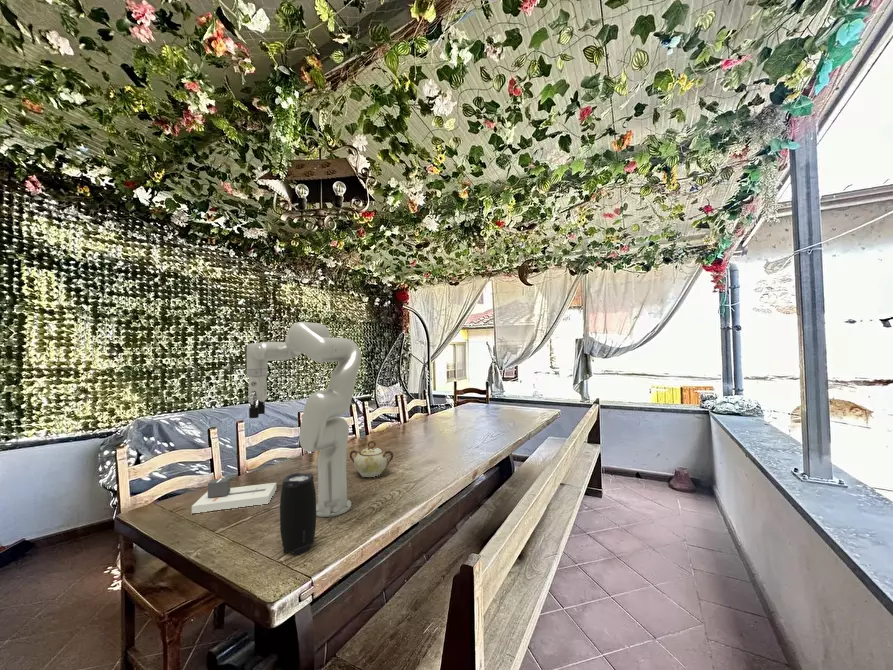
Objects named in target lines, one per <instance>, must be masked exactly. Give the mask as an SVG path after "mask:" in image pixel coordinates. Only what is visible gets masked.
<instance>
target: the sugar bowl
mask: <svg viewBox="0 0 893 670" xmlns="http://www.w3.org/2000/svg"><path fill="white" fill-rule="evenodd" d="M371 443H373V446H370V445H371ZM376 445H377V444H376V441H374V440H370V441H368V443H367V447H366V448H364V449H361V450H355V449H353V450H352V451H350V452H349V458H350V460H351V461H352V463H353V465H354V466H355V470H356V471H357V472H358V473H359V474H360V476H361V477H362V478H364V477H374V478H376V477H375V476H377V477H379V476H381V475H382V473H383V472H384V470H385V469H386V468H387V467H388V465H389V464H390V462H391V461H392V460H393V458H394V454H393V451H391V450H386V451H385V450H384V449H382V448H378V447H377V446H376ZM353 453H354V454H355V456H354V458H353V456H352V454H353ZM388 454H389V455H390V458H389V457H388ZM380 474H381V475H380ZM378 475H379V476H378Z"/></svg>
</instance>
